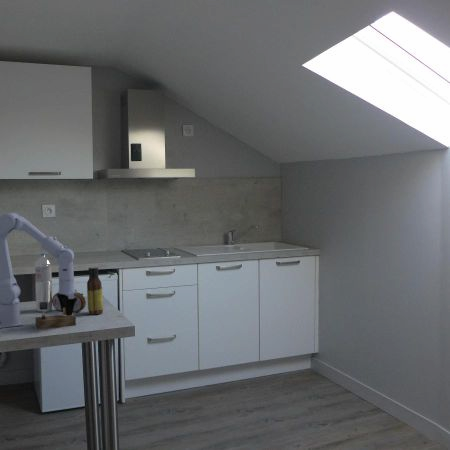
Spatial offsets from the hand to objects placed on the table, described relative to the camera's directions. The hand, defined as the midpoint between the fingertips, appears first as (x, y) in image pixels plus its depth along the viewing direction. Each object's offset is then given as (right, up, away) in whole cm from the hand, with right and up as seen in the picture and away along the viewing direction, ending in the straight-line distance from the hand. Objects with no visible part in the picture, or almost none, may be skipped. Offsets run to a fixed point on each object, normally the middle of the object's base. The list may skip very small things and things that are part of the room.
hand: (66, 313), depth 239 cm
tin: (-5, -3, +22) cm, 22 cm away
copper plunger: (0, -4, 0) cm, 4 cm away
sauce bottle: (+7, -3, +18) cm, 20 cm away
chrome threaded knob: (-8, -2, -4) cm, 9 cm away
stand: (-4, -4, -2) cm, 6 cm away
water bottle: (-16, -2, +22) cm, 28 cm away
